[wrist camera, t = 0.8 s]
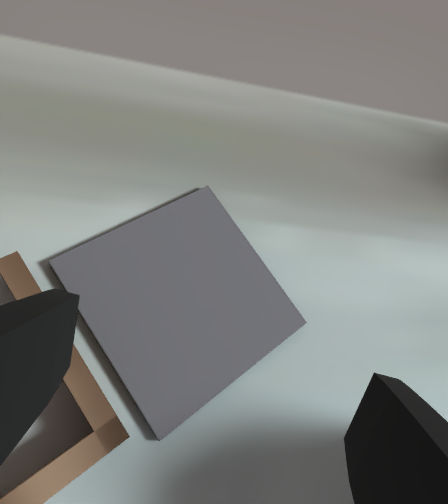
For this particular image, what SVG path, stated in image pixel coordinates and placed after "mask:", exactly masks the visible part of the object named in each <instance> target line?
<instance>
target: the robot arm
mask: <svg viewBox="0 0 448 504" xmlns="http://www.w3.org/2000/svg"><path fill="white" fill-rule="evenodd" d="M79 298H80V295H77V294H73V293H70V292H66V291H62V290H58V289H51V290H47V291H44V292H41V293H37V294H34V295H31V296H28V297H25V298H22V299H19V300H16V301H13V302H11V303H8V304H5V305H2V306H0V466H1V464H2V463H3V462H4V460H5V459H6V458H7V456H8V455H9V454H10V453H11V451H12V450H13V449H14V447H15V446H16V445H17V444H18V442H19V441H20V440H21V438H22V437H23V436H24V435H25V433H26V432H27V431H28V429H29V428H30V427H31V425H32V424H33V423H34V421H35V420H36V419H37V417H38V416H39V415H40V414H41V412H42V411H43V410H44V408H45V407H46V406H47V404H48V403H49V401H50V400H51V398H52V396H53V395H54V393H55V391H56V390H57V388H58V386H59V385H60V383H61V381H62V379H63V378H64V376H65V374H66V372H67V371H68V369H69V367H70V364H71V356H72V349H73V342H74V334H75V327H76V320H77V312H78V305H79ZM344 442H345V452H346V461H347V469H348V476H349V483H350V487H351V491H352V495H353V499H354V503H355V504H448V422H447V421H446V420H445V419H444V418H443V417H442V416H441V415H440V414H438V413H437V412H436V411H435V410H434V409H433V408H432V407H431V406H430V405H429V404H428V403H427V402H425V401H424V400H423V399H422V398H421V397H420V396H419V395H418V394H417V393H415V392H414V391H413V390H412V389H411V388H410V387H408V386H407V385H406V384H405V383H403V382H402V381H401V380H399V379H396V378H392V377H388V376H385V375H381V374H377V373H374V374H373V376H372V378H371V381H370V383H369V385H368V387H367V389H366V391H365V394H364V396H363V398H362V400H361V402H360V404H359V407H358V409H357V411H356V413H355V415H354V417H353V420H352V422H351V424H350V426H349V428H348V430H347V433H346V435H345V437H344Z"/></svg>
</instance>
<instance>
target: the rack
mask: <svg viewBox="0 0 448 504" xmlns="http://www.w3.org/2000/svg"><path fill="white" fill-rule="evenodd" d="M0 274H1V276H2V277H3V279H4V281H5V282H6V284H7V286H8V288H9V289H10V291H11V293H12V294H13V296H14V298H15V299H16V300H19V299H22V298H25V297H28V296H31V295H34V294H37V293H41V292H42V291H41V290H40V288H39V286H38V285H37V283H36V281H35V280H34V278H33V276H32V275H31V273H30V271H29V270H28V268H27V266H26V265H25V263H24V261H23V260H22V258H21V256H20V255H19V253H18V252H17V251H16V252H14V253H12V254H10V255H7V256H5V257H3V258H0ZM63 381H64V382H65V384H66V386H67V387H68V389H69V391H70V392H71V394H72V396H73V397H74V399H75V401H76V403H77V404H78V406H79V408H80V409H81V411H82V413H83V414H84V416H85V418H86V419H87V421H88V423H89V425H90V426H91V428H92V430H93V431H92V432H91V433H89V434H88V435H87V436H85V437H84V438H82V439H81V440H80V441H78V442H77V443H76V444H74V445H73V446H71V447H70V448H69V449H67V450H66V451H64V452H63V453H62V454H60V455H59V456H58V457H56V458H55V459H53V460H52V461H51V462H49V463H48V464H46V465H45V466H44V467H42V468H41V469H40V470H38V471H37V472H35V473H34V474H33V475H31V476H30V477H28V478H27V479H26V480H24V481H23V482H22V483H20V484H19V485H17V486H16V487H15V488H13V489H12V490H10V491H9V492H8V493H6V494H5V495H4V496H2V497H1V498H0V504H43V503H44V502H45V501H47V500H48V499H49V498H51V497H52V496H53V495H54V494H56V493H57V492H58V491H60V490H61V489H62V488H64V487H65V486H66V485H67V484H69V483H70V482H71V481H73V480H74V479H75V478H77V477H78V476H79V475H81V474H82V473H83V472H84V471H86V470H87V469H88V468H90V467H91V466H92V465H94V464H95V463H96V462H97V461H99V460H100V459H101V458H103V457H104V456H105V455H107V454H108V453H109V452H110V451H112V450H113V449H114V448H116V447H117V446H118V445H120V444H121V443H122V442H124V441H125V440H126V439H127V438H129V437H130V436H129V435H128V433H127V432H126V430H125V428H124V427H123V425H122V423H121V422H120V420H119V418H118V417H117V415H116V413H115V412H114V410H113V408H112V407H111V405H110V403H109V402H108V400H107V398H106V397H105V395H104V394H103V392H102V390H101V389H100V387H99V385H98V384H97V382H96V380H95V379H94V377H93V375H92V374H91V372H90V370H89V369H88V367H87V365H86V364H85V362H84V361H83V359H82V357H81V356H80V354H79V352H78V351H77V349H76V347H75V346H74V344H73V349H72V356H71V364H70V367H69V369H68V371H67V372H66V374H65V376H64V378H63Z"/></svg>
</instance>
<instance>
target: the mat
mask: <svg viewBox="0 0 448 504" xmlns="http://www.w3.org/2000/svg"><path fill="white" fill-rule="evenodd" d="M49 265H50V266H51V268H52V269H53V271H54V273H55V274H56V276H57V277H58V279H59V281H60V282H61V284H62V286H63V287H64V289H65V290H66V292H70V293H73V294H77V295H80V298H79V305H78V312H79V313H80V315H81V316H82V318H83V320H84V321H85V323H86V324H87V326H88V328H89V329H90V331H91V333H92V334H93V336H94V337H95V339H96V341H97V342H98V344H99V346H100V347H101V349H102V350H103V352H104V354H105V355H106V357H107V359H108V360H109V362H110V363H111V365H112V367H113V368H114V370H115V371H116V373H117V375H118V376H119V378H120V380H121V381H122V383H123V384H124V386H125V388H126V389H127V391H128V393H129V394H130V396H131V397H132V399H133V401H134V402H135V404H136V406H137V407H138V409H139V410H140V412H141V414H142V415H143V417H144V418H145V420H146V422H147V423H148V425H149V427H150V428H151V430H152V431H153V433H154V435H155V436H156V438H157V440H158V441H160V440H162V439H163V438H164V437H165V436H167V435H168V434H169V433H170V432H171V431H173V430H174V429H175V428H176V427H178V426H179V425H180V424H181V423H183V422H184V421H185V420H186V419H188V418H189V417H190V416H191V415H193V414H194V413H195V412H196V411H198V410H199V409H200V408H201V407H203V406H204V405H205V404H206V403H207V402H209V401H210V400H211V399H212V398H214V397H215V396H216V395H217V394H219V393H220V392H221V391H222V390H224V389H225V388H226V387H227V386H229V385H230V384H231V383H232V382H234V381H235V380H236V379H237V378H238V377H240V376H241V375H242V374H243V373H245V372H246V371H247V370H248V369H250V368H251V367H252V366H253V365H255V364H256V363H257V362H258V361H260V360H261V359H262V358H263V357H265V356H266V355H267V354H268V353H269V352H271V351H272V350H273V349H274V348H276V347H277V346H278V345H279V344H281V343H282V342H283V341H284V340H286V339H287V338H288V337H289V336H291V335H292V334H293V333H294V332H296V331H297V330H298V329H299V328H300V327H302V326H303V325H304V324H305V323H307V322H306V321H305V320H304V318H303V317H302V315H301V314H300V313H299V311H298V310H297V308H296V307H295V306H294V304H293V303H292V302H291V300H290V299H289V297H288V296H287V295H286V293H285V292H284V290H283V289H282V288H281V286H280V285H279V283H278V282H277V281H276V279H275V278H274V277H273V275H272V274H271V272H270V271H269V270H268V268H267V267H266V265H265V264H264V263H263V261H262V260H261V258H260V257H259V256H258V254H257V253H256V252H255V250H254V249H253V247H252V246H251V245H250V243H249V242H248V240H247V239H246V238H245V236H244V235H243V233H242V232H241V231H240V229H239V228H238V227H237V225H236V224H235V222H234V221H233V220H232V218H231V217H230V215H229V214H228V213H227V211H226V210H225V208H224V207H223V206H222V204H221V203H220V202H219V200H218V199H217V197H216V196H215V195H214V193H213V192H212V190H211V189H210V188H209V186H206V187H204V188H202V189H199V190H197V191H195V192H193V193H191V194H189V195H187V196H185V197H182V198H180V199H178V200H176V201H174V202H172V203H170V204H168V205H166V206H163V207H161V208H159V209H157V210H155V211H153V212H151V213H149V214H146V215H144V216H142V217H140V218H138V219H136V220H134V221H132V222H129V223H127V224H125V225H123V226H121V227H119V228H117V229H115V230H112V231H110V232H108V233H106V234H104V235H102V236H100V237H98V238H95V239H93V240H91V241H89V242H87V243H85V244H83V245H81V246H78V247H76V248H74V249H72V250H70V251H68V252H66V253H64V254H61V255H59V256H57V257H55V258H53V259H51V260H49Z"/></svg>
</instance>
